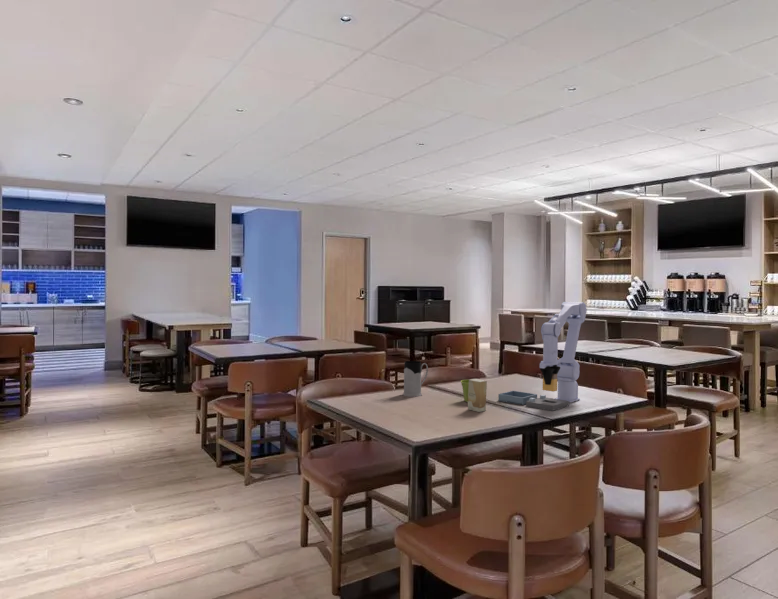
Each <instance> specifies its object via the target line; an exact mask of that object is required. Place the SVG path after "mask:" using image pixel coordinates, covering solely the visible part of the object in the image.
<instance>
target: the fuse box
mask: <svg viewBox="0 0 778 599" xmlns="http://www.w3.org/2000/svg"><path fill="white" fill-rule="evenodd" d="M569 404H570V402H569V401H566V400H559V399H555V398H553V397H547V396H546V394H540V396H539V397H537V399H535V398H529V401H526V404H525V407H528V408H533V409H540V410H544V411H551V412H553V411H557V410H560V409H562V408H566V407H569V406H570V405H569Z"/></svg>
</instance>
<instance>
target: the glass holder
mask: <svg viewBox="0 0 778 599" xmlns="http://www.w3.org/2000/svg"><path fill="white" fill-rule="evenodd" d="M424 365H425V366H426V369H425V370H426V372H425V375H424V379H422V372H423V366H424ZM428 372H429V366H428V364H427V363H426V362H424V363H422V362H421V361H419V360H407V361H404V369H403V393H402V396H404V397H409V398H410V397H411V398H412V397H414V398H415V397H421V396H422V386H423V383H424V382H425V381H426V379H427V376H428Z"/></svg>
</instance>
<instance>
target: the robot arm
mask: <svg viewBox="0 0 778 599" xmlns="http://www.w3.org/2000/svg"><path fill="white" fill-rule="evenodd" d="M586 315H587V305H586V303H585V302H584V301H563V302H562V303H561V304H560V311H559V313H555V314H554V315H553V316H552V317H551V318H550V319H549V321H547V322H544V323H543V324H542V326H541V329H540V333H541V340H542V342H543V343H542V344H543V347H542V348H543V352H542V354H543V356H542V360H541V361H540V362H539V370H540V372H541V373H542V378H543V377H544V381H545V384H547V385H551V379H552V374H553V373H554V374H557V397H556V398H554V399H559V400H566V401H569V403H573V402H577V401H580V397H579V384H578V382H577V380H578V379H579V377H580V373H581V372H580V367H581V366H580V363H579V362H578V361H577V360H576V359H575V357H576V352H577V347H578V346H577V345H578V341H579V335H580V330H581V326H582V324H583V323H584V322H585V321H586V318H587V317H586ZM566 323H568V328H567V332H566V333H567V334H566V337H565V338H566V339H565V343H564V349H563V354H562V357H561V358H559V359H558V356H559V355H558V353H559V352H558V350H559V346H558V345H559V344H558V342H559V341H558V340H559V336H560V335H561V331H562V329H563V327H564V325H565V324H566Z"/></svg>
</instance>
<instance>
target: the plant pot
mask: <svg viewBox="0 0 778 599" xmlns="http://www.w3.org/2000/svg"><path fill="white" fill-rule="evenodd" d="M469 380H470V379H462V380H460V383H461V387H462V394H463V401H464V402H466V403H468V387H469Z"/></svg>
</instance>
